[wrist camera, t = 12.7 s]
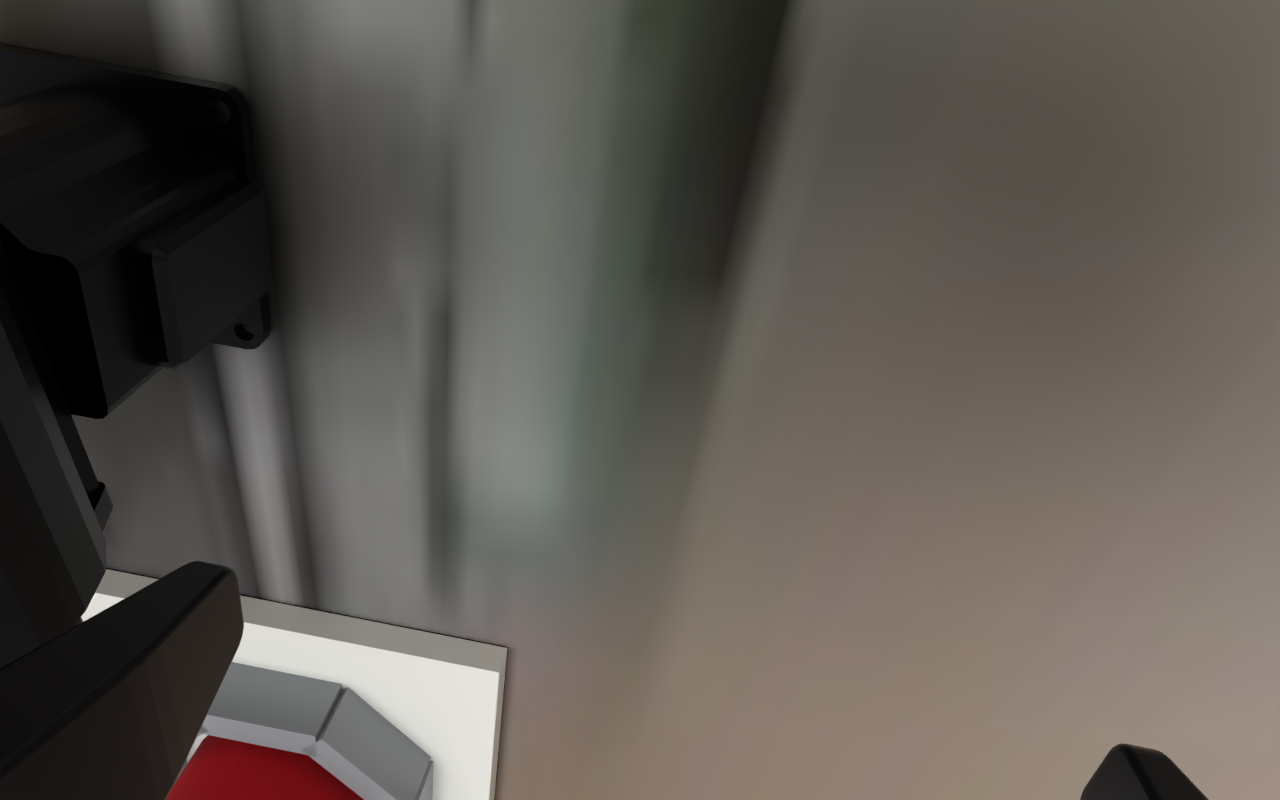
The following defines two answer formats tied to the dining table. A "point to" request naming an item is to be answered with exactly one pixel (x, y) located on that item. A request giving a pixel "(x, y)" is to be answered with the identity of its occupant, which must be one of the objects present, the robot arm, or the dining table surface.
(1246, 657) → the dining table surface
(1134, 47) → the dining table surface
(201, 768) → the beverage can
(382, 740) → the tray
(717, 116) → the dining table surface
